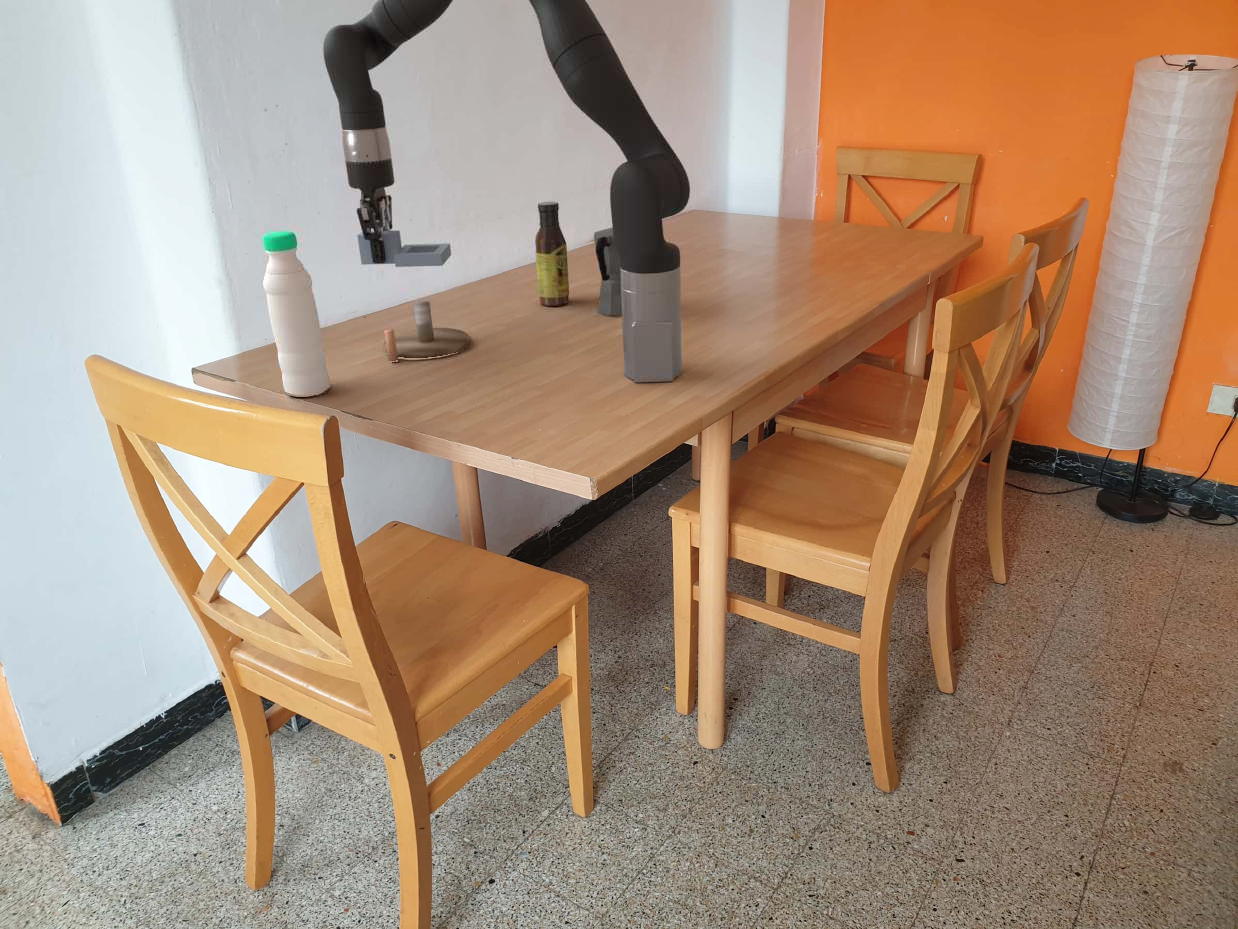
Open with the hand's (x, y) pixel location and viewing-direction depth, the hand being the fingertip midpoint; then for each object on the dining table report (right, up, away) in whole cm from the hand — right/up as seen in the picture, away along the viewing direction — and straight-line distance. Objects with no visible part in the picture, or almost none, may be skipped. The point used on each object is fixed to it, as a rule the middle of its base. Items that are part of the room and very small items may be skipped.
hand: (382, 259), depth 166 cm
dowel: (+2, -18, -2) cm, 18 cm away
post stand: (+7, -15, +5) cm, 17 cm away
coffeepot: (+41, -6, +21) cm, 46 cm away
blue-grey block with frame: (+4, 0, 0) cm, 4 cm away
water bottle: (-8, -24, -14) cm, 29 cm away
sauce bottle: (+28, -3, +28) cm, 40 cm away
